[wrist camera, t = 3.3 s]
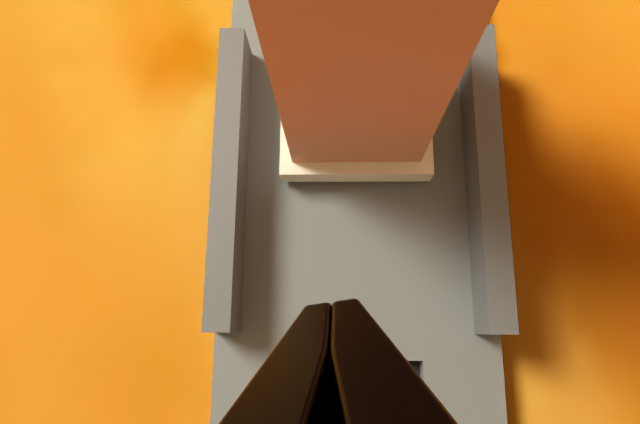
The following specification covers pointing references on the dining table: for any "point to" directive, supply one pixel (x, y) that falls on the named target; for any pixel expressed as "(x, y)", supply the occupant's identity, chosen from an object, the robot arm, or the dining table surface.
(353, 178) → the salmon pink tall box
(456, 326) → the track
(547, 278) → the dining table surface
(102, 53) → the dining table surface
